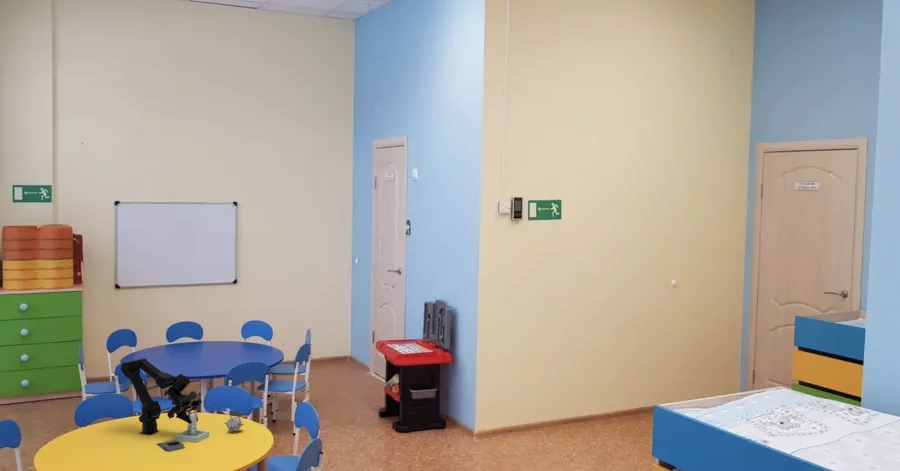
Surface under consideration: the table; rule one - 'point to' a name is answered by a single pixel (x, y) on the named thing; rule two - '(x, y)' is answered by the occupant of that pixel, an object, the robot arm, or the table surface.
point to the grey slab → (171, 445)
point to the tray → (196, 438)
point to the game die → (234, 423)
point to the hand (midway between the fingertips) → (194, 422)
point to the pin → (193, 426)
